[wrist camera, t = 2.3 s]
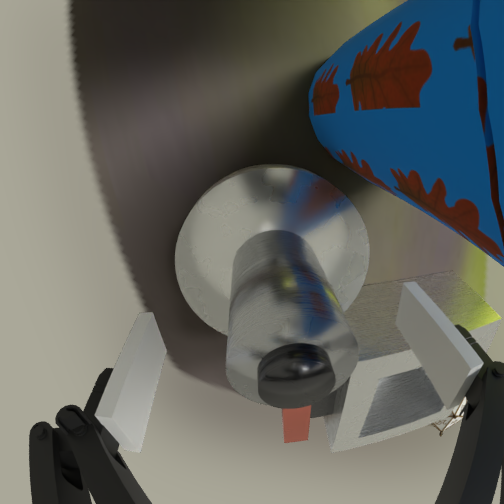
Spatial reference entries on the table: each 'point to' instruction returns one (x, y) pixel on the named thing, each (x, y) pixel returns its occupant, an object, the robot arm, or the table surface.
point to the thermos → (424, 112)
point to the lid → (277, 283)
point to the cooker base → (396, 363)
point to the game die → (450, 418)
